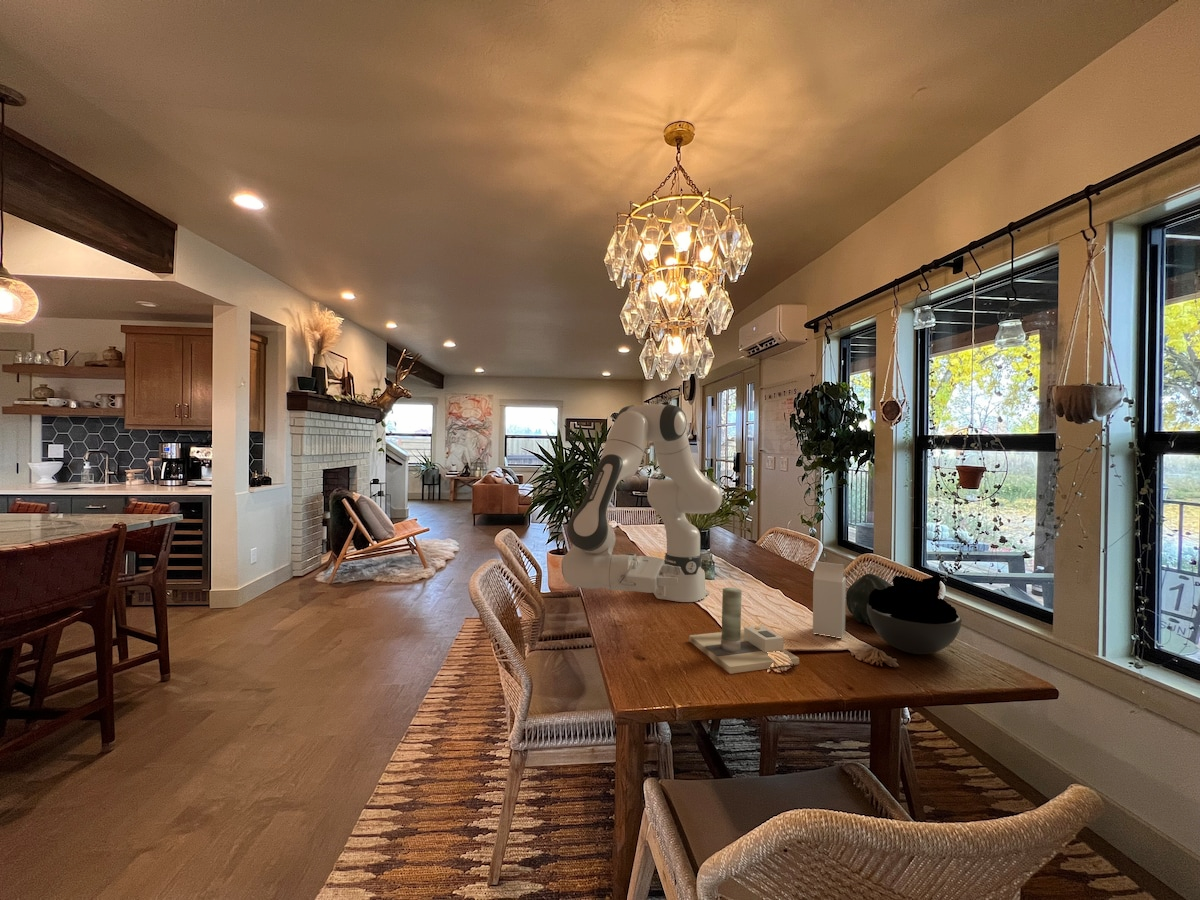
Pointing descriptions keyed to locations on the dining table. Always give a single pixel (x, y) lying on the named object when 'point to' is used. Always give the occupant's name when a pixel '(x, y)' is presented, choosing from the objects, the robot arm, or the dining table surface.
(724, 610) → the green cylinder
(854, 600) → the squash
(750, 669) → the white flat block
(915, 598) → the heaped grey bowl
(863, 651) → the dining table surface
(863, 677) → the dining table surface
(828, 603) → the milk carton
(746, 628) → the block
